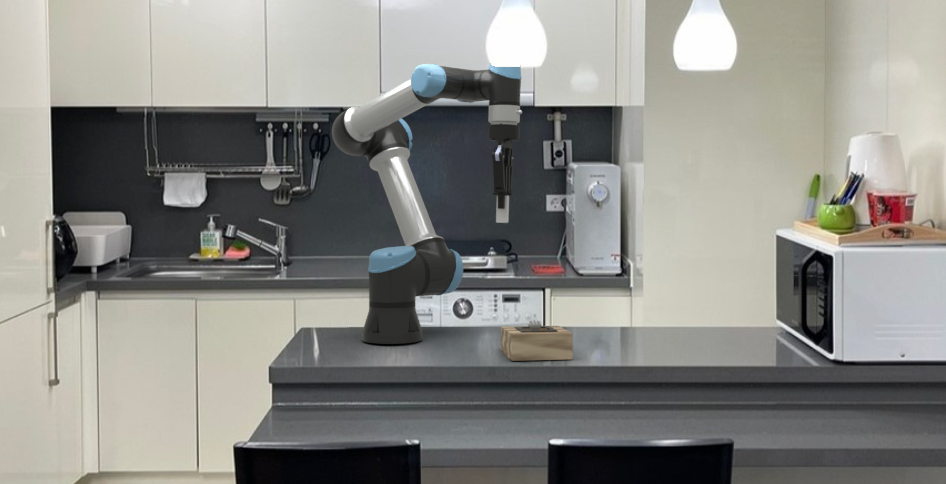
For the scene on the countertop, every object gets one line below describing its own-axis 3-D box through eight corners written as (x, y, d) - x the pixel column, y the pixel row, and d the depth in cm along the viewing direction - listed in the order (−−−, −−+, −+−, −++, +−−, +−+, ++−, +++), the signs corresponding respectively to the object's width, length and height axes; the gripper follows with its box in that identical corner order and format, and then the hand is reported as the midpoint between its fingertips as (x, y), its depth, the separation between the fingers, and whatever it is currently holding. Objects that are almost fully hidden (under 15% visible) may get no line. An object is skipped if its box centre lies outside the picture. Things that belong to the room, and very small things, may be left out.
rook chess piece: (543, 357, 223) (543, 323, 222) (523, 356, 223) (524, 322, 223) (544, 353, 227) (545, 320, 226) (526, 352, 228) (526, 319, 227)
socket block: (500, 351, 231) (500, 325, 231) (557, 350, 233) (557, 324, 233) (511, 360, 217) (511, 332, 217) (572, 359, 219) (572, 331, 219)
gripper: (512, 122, 223) (510, 223, 225) (525, 126, 236) (523, 222, 237) (481, 122, 225) (479, 222, 227) (496, 126, 238) (494, 221, 239)
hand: (502, 222), depth 232 cm, fingers closed
